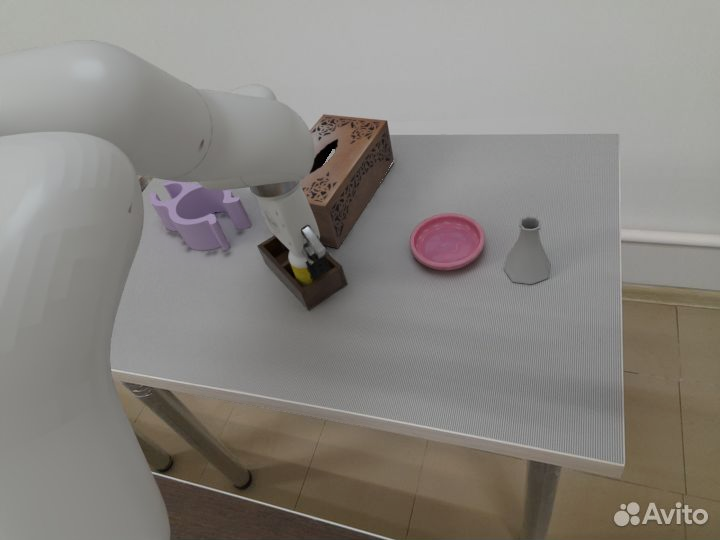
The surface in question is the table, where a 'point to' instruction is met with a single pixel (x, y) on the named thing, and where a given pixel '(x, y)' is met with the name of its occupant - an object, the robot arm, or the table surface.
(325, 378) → the table surface
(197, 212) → the clip
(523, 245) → the flask
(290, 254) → the supplement bottle
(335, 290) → the holder
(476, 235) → the saucer
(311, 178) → the tissue box cover
